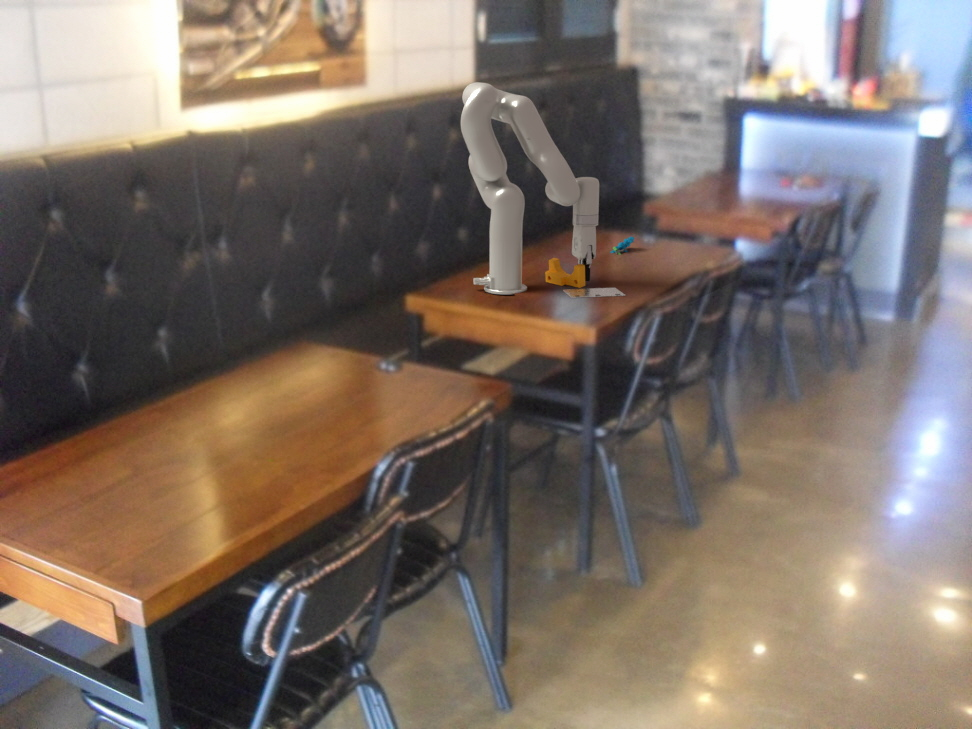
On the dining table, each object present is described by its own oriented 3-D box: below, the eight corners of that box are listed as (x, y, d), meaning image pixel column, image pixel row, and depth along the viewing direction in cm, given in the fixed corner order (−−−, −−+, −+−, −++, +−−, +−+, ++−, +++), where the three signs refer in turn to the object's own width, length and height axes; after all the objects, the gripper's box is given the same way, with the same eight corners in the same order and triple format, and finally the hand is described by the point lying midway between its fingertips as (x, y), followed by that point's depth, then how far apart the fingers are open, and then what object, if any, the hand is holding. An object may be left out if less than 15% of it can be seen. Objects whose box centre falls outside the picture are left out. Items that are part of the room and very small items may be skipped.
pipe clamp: (545, 281, 318) (544, 261, 315) (555, 278, 320) (554, 257, 318) (575, 289, 310) (575, 268, 307) (585, 285, 312) (584, 264, 310)
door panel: (571, 297, 298) (571, 296, 298) (562, 290, 308) (562, 289, 308) (625, 295, 301) (625, 294, 301) (614, 288, 311) (614, 287, 311)
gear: (618, 251, 362) (636, 232, 356) (628, 265, 361) (647, 246, 355) (601, 256, 354) (620, 237, 347) (612, 270, 352) (631, 250, 346)
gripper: (566, 216, 316) (565, 276, 321) (580, 224, 302) (579, 286, 307) (590, 215, 317) (588, 275, 322) (605, 223, 303) (603, 285, 308)
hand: (584, 280), depth 315 cm, fingers closed
